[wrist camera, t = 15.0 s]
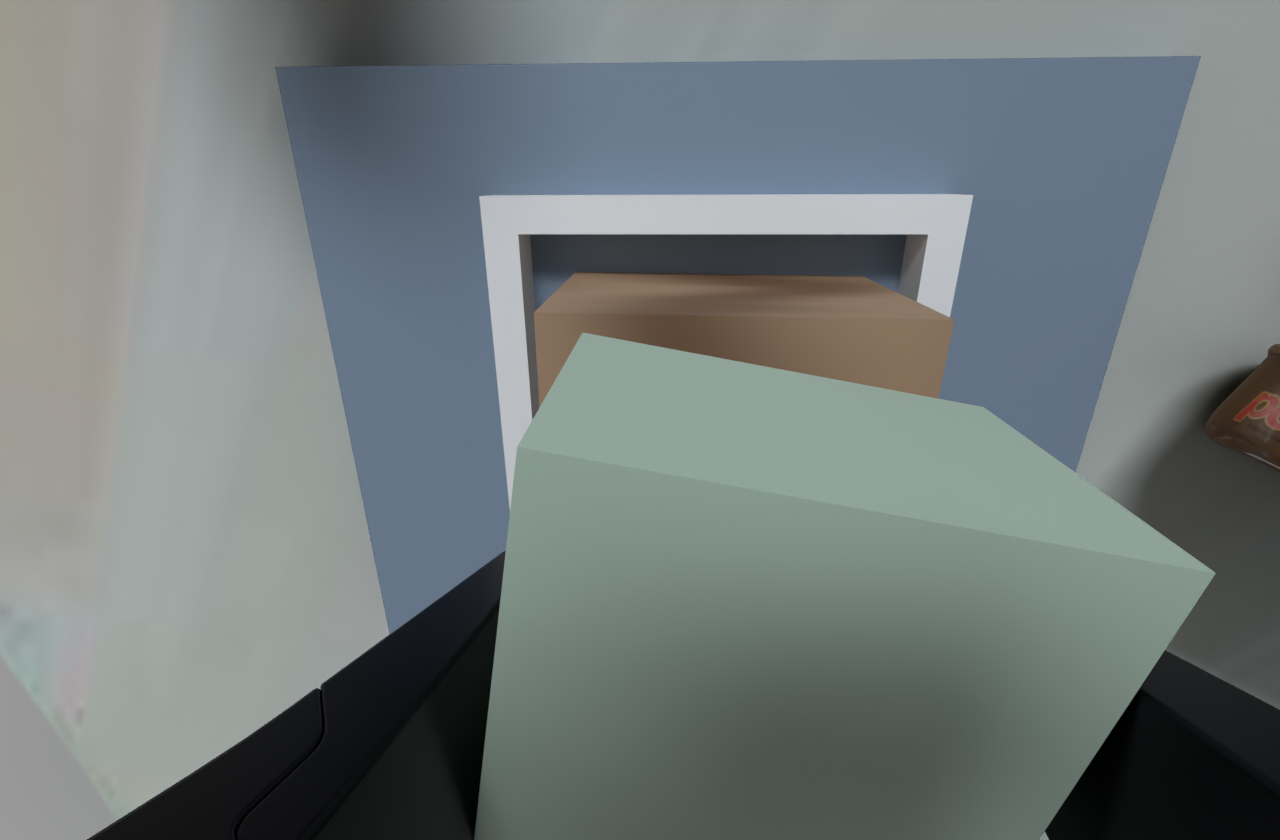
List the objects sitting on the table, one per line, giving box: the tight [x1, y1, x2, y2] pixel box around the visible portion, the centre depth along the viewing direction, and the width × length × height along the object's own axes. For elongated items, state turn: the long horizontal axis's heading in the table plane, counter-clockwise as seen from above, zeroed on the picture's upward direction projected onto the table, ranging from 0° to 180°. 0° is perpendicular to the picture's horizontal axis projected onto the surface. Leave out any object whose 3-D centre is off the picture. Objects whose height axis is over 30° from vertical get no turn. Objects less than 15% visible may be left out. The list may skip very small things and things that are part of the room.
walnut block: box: [534, 272, 954, 408], centre depth 14 cm, size 7×7×5 cm
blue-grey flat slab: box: [276, 56, 1201, 634], centre depth 16 cm, size 20×16×2 cm
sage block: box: [474, 333, 1216, 840], centre depth 8 cm, size 6×6×4 cm
